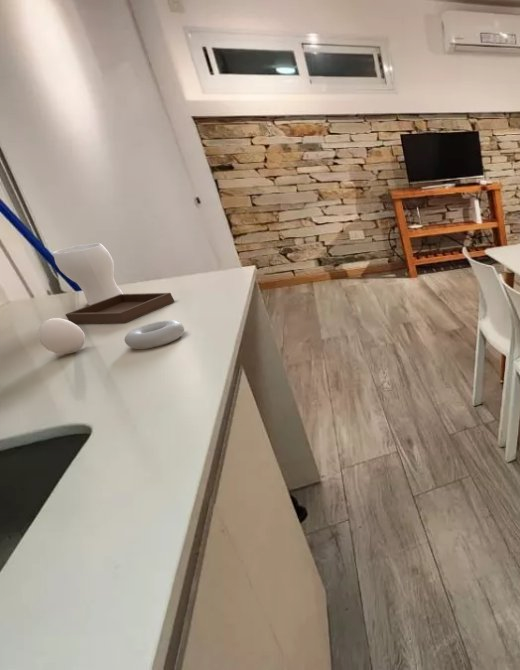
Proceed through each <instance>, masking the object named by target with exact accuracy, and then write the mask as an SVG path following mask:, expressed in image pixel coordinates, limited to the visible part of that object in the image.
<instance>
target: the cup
mask: <svg viewBox="0 0 520 670" xmlns="http://www.w3.org/2000/svg"><path fill="white" fill-rule="evenodd" d="M52 255H53V259H54V264H55V265H56V267H57V268H58V270H59V271H60V272H61V273H62V274H63V275H64V277H67V278H68V279H69V280H70V281H72V282H74V283H75V284H77V285H78V287H79V288H80V289H81V290H82V292H83V294H84V297H85V300H86V303H87V306H89V305H92V304H95V303H97V302H100V301H103V300H105V299H108V298H111V297H114V296H116V295H119V294H124V293H123V291H122V290H121V288H120V287H119V286H118V284H117V283H116V280H115V277H114V272H115V264H114V263H115V262H114V259H113V257H112V255H111V253H110V252H109V250H107V248H106V247H105V246H104V245H103V244H102V243H100V242H99V243H98V242H97V243H87V244H80V245H73V246H69V247H65V248H61V249H57V250H55V251H53V252H52Z"/></svg>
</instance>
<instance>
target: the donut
mask: <svg viewBox="0 0 520 670" xmlns="http://www.w3.org/2000/svg"><path fill="white" fill-rule="evenodd" d="M184 332H185V326H184V325H183V323H181V322H179V321H177V320H173V319H168V320H167V319H166V320H158V321H153V322H150V323H146V324H143V325H141V326H138V327H136V328H134V329H132V330H131V331H128V333H127V334H126V335H125V337H124V343H125V345H127V346H128V348H131V349H134V350H135V349H136V350H148V349H153V348H157V347H162V346H164V345H167V344H169V343H172V342H174V341H176V340H178V339H179V338H180V337H182V336H183V335H184Z"/></svg>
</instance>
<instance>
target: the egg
mask: <svg viewBox="0 0 520 670" xmlns="http://www.w3.org/2000/svg"><path fill="white" fill-rule="evenodd" d="M37 333H38V334H37V335H38V340H39V342H40V345H42V347H44V348H45V349H46V350H48V351H49V352H52V353H55V354H59V355H69V354H74V353H76V352H78V351H79V350H80V349H81V348H82V347H83V346H84V344H85V341H86V335H85V333H84V331H83V330H82V328H81V327H80V326H79V325H78V324H74V323H72V322H71V321H69V320H68V319H65V318H60V317H53V318H49V319H46V320H44V322H42V323H41V325H40V326H39V329H38V332H37Z"/></svg>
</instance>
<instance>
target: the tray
mask: <svg viewBox="0 0 520 670" xmlns="http://www.w3.org/2000/svg"><path fill="white" fill-rule="evenodd" d="M175 301H176V300H175V299H174V297H173V295H172V293H171V292H149V293H146V292H145V293H144V292H143V293H123V294H119V295H116V296H114V297H111V298H108V299H105V300H103V301H100V302H97V303H95V304H92V305H87V306H84V307H81V308H79V309H76V310H73V311H71V312H68V313H65V314H64V315H65V317H66V319H67V320H68V321H71V322H72V323H74V324H76V325H80V324H81V325H83V324H84V325H85V324H87V325H88V324H126V323H128V322H131V321H133V320H135V319H138V318H141V317H142V316H145V315H147V314H149V313H152V312H154V311H157V310H159V309H161V308H163V307H166V306H168V305H171V304H173V303H176V302H175Z"/></svg>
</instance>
